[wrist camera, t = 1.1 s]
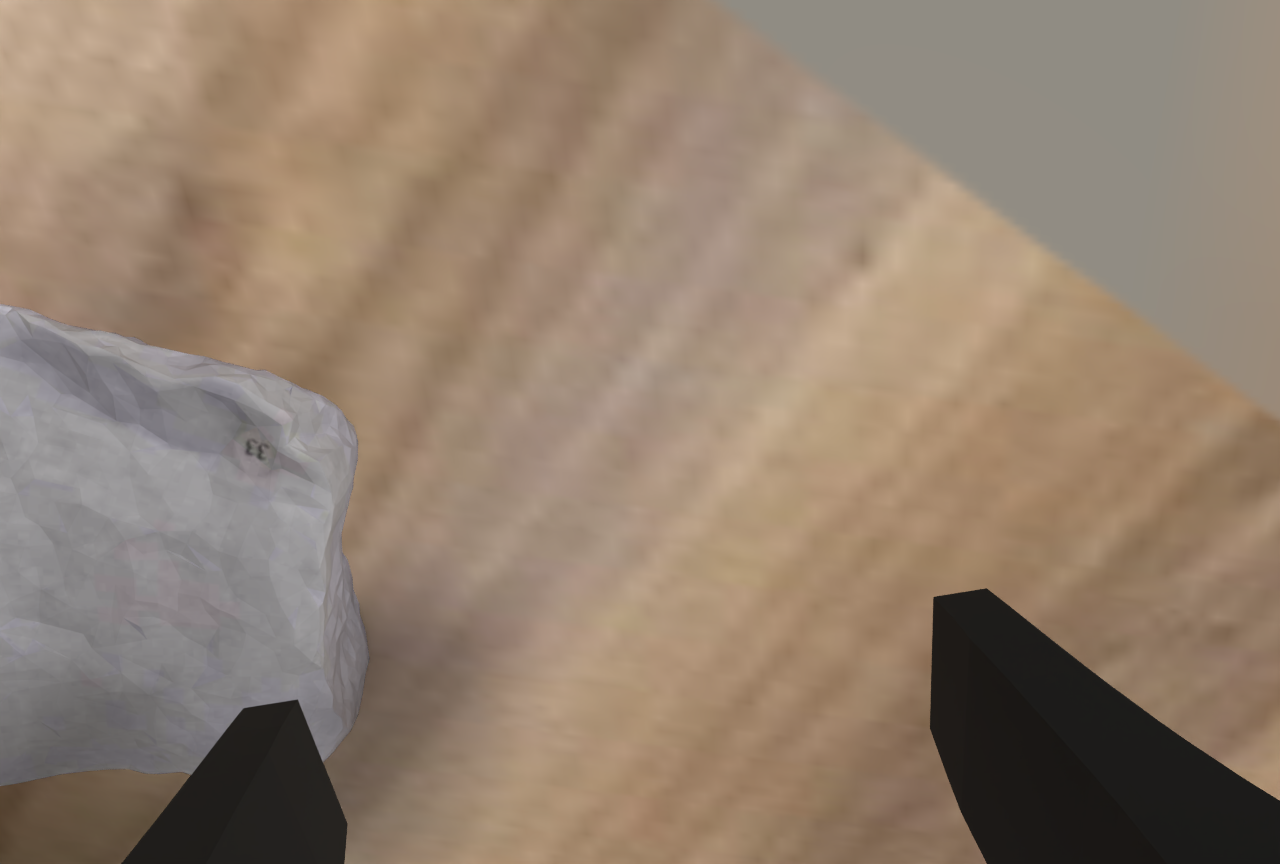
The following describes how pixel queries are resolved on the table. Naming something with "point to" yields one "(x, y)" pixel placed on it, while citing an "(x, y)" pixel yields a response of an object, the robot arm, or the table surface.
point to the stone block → (164, 553)
